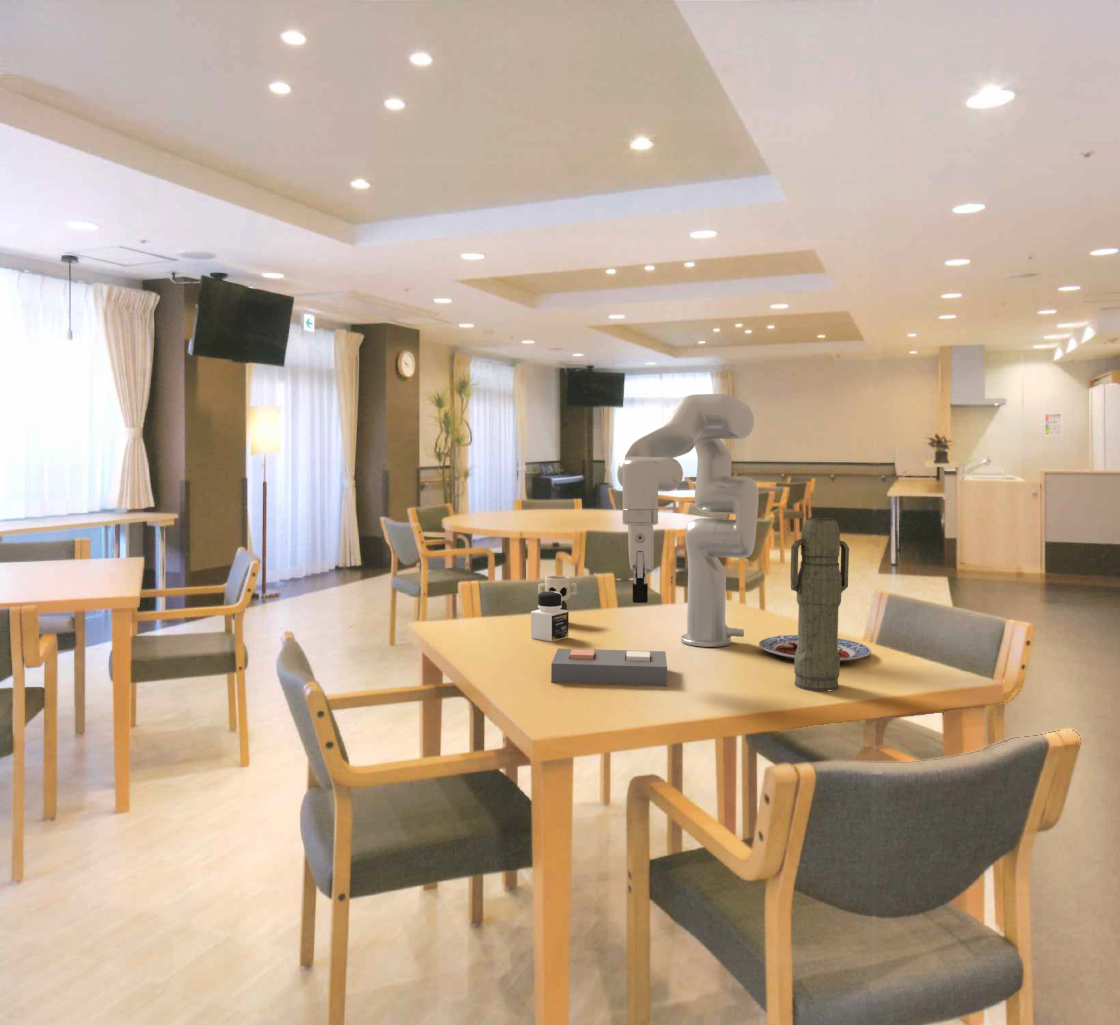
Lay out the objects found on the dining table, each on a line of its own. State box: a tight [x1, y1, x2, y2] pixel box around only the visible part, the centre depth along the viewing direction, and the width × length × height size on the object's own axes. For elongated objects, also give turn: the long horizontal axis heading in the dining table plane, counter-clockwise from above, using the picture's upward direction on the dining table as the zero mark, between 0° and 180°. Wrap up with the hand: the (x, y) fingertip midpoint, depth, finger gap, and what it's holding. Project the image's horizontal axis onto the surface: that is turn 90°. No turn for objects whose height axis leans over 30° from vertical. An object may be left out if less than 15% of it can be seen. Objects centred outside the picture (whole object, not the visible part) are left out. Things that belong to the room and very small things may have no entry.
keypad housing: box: [550, 647, 668, 687], centre depth 186 cm, size 24×14×4 cm, turn 85°
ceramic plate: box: [758, 634, 872, 663], centre depth 207 cm, size 26×26×3 cm
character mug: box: [537, 575, 578, 611], centre depth 243 cm, size 11×7×13 cm, turn 93°
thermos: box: [790, 516, 850, 692], centre depth 178 cm, size 9×12×35 cm
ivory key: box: [626, 650, 650, 662], centre depth 185 cm, size 5×5×3 cm
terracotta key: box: [570, 648, 595, 660], centre depth 187 cm, size 5×5×3 cm
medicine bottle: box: [530, 590, 569, 643], centre depth 223 cm, size 7×7×12 cm
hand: (640, 601), depth 185 cm, fingers closed
